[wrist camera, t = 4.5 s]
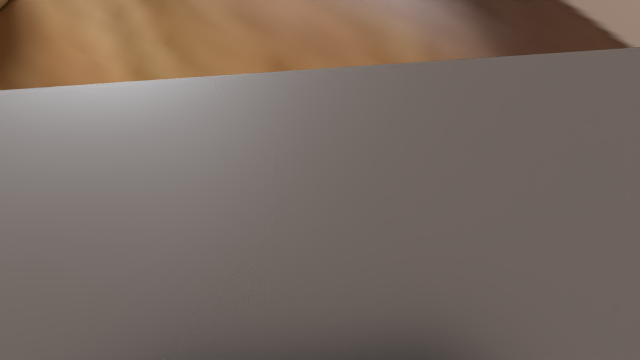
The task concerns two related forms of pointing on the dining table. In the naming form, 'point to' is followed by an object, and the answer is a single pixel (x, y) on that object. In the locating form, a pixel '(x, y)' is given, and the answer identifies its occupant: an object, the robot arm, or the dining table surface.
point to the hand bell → (3, 3)
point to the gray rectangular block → (327, 214)
